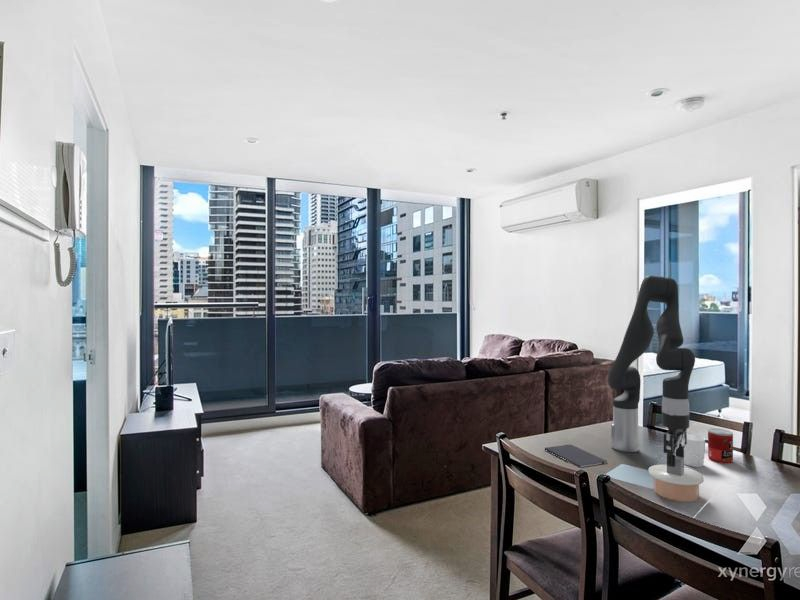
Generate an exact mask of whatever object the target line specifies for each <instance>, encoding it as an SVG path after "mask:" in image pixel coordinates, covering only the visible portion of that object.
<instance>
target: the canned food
mask: <svg viewBox="0 0 800 600" xmlns="http://www.w3.org/2000/svg"><path fill="white" fill-rule="evenodd" d="M707 456H708V457H707V458H708V459H709V460H711V461H712V462H715V463H720V464H732V463H733V460H734V432H733V431H730V430H727V429H725V428H719V427H718V428H716V427H715V428H711V427H710V428H708V429H707Z"/></svg>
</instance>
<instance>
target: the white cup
mask: <svg viewBox="0 0 800 600" xmlns="http://www.w3.org/2000/svg"><path fill="white" fill-rule="evenodd" d="M705 451H706V438H705V437H704V436H701V435H697V434H692V433H687V444H686V445H685V448H684V466H688V467H692V468H703V467H704V463H705V460H704V459H705V455H706V453H705Z"/></svg>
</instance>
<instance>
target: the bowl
mask: <svg viewBox="0 0 800 600" xmlns="http://www.w3.org/2000/svg"><path fill="white" fill-rule="evenodd" d="M653 488H654V489H653V490H654V492H655V494H657V495H659V496H661V498H662V497H663V498H664V499H669V500H671V501H677V502H694V501H697V500H698V499H699V496H700V484H698V485H678V484H672V483H668V482H664V481H661V480H658V479H656V478H654V477H653Z"/></svg>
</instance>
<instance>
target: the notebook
mask: <svg viewBox="0 0 800 600" xmlns="http://www.w3.org/2000/svg"><path fill="white" fill-rule="evenodd" d="M545 450H547V451H549V452H551V453H553V454H555V455H557V456H559V457H562V458H564V459H566V460H568V461H570V462H572V463H573V464H572V463H571V464H572V465H574V464H575V466H576V467H578V468H583V467H584V468H585V467H592V466H598V465H605V464H607V463H608V461H607V460H606V459H604V458H601V457H599V456H597V455H595V454H593V453H590V452H589V451H586V450H584V449H582V448H579V447H578V446H576V445H573V444H563V445H557V446H548V447H544V451H545ZM547 451H546V452H547ZM549 452H548V453H549ZM551 453H550V454H551ZM553 454H552V455H553ZM555 455H554V456H555ZM557 456H556V457H557ZM559 457H558V458H559ZM570 462H569V463H570Z"/></svg>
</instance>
